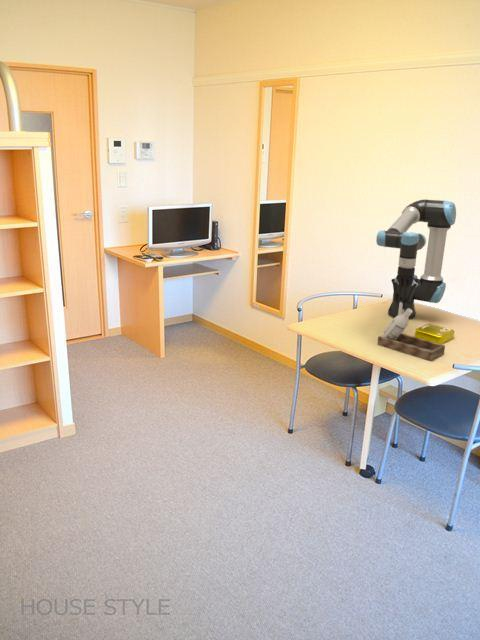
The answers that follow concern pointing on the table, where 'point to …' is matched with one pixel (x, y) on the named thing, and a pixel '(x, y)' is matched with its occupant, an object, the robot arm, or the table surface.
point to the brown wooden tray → (413, 346)
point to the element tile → (434, 333)
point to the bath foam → (397, 325)
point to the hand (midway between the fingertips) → (400, 315)
